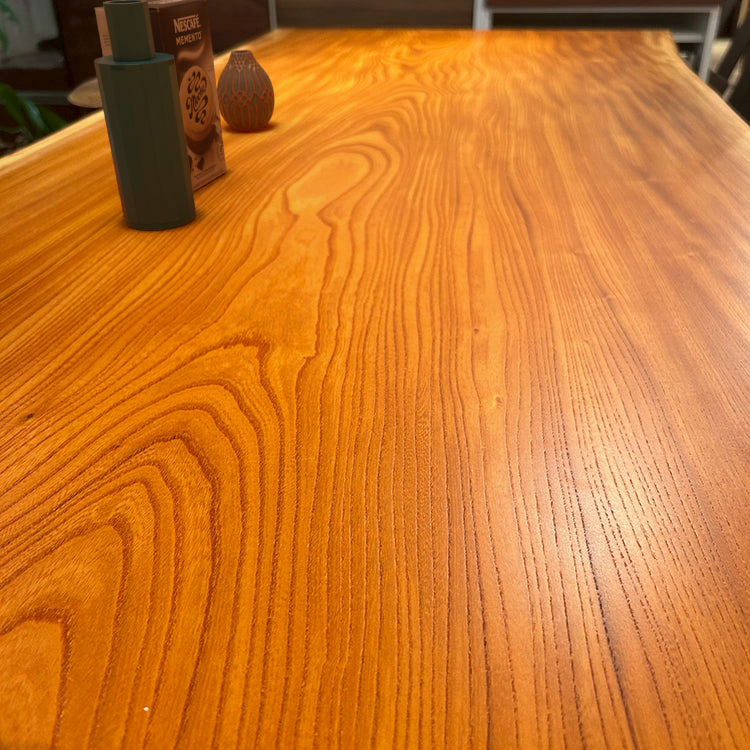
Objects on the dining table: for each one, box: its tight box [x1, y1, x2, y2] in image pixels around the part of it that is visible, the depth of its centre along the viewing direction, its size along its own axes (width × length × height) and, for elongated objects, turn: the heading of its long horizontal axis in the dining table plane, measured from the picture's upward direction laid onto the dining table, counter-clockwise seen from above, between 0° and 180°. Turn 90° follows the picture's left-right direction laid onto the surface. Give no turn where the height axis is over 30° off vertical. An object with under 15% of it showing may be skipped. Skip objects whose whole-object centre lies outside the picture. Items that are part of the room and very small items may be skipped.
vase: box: [216, 49, 276, 132], centre depth 93 cm, size 7×7×9 cm
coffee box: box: [94, 0, 227, 192], centre depth 72 cm, size 9×6×16 cm
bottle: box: [93, 0, 197, 231], centre depth 63 cm, size 6×6×17 cm
